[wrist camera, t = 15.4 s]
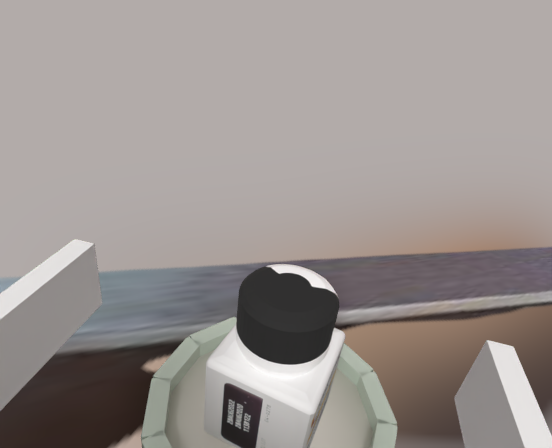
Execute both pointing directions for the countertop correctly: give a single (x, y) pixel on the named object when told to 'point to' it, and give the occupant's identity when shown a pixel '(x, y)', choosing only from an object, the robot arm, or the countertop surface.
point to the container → (275, 361)
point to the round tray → (199, 444)
